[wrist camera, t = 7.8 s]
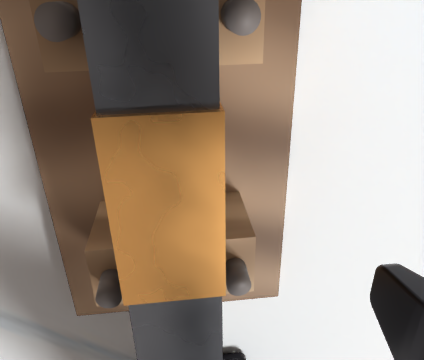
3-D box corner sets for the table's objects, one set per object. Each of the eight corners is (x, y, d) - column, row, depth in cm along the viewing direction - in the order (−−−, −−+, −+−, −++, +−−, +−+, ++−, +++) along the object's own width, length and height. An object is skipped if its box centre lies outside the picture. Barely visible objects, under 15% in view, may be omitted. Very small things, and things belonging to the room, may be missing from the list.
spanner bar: (214, 302, 17) (226, 377, 13) (143, 309, 16) (138, 388, 13) (206, -63, 10) (223, -90, 7) (90, -62, 10) (54, -89, 7)
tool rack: (273, 284, 23) (306, 373, 18) (80, 303, 22) (52, 403, 17) (306, -174, 13) (403, -291, 8) (-39, -180, 12) (-202, -319, 7)
